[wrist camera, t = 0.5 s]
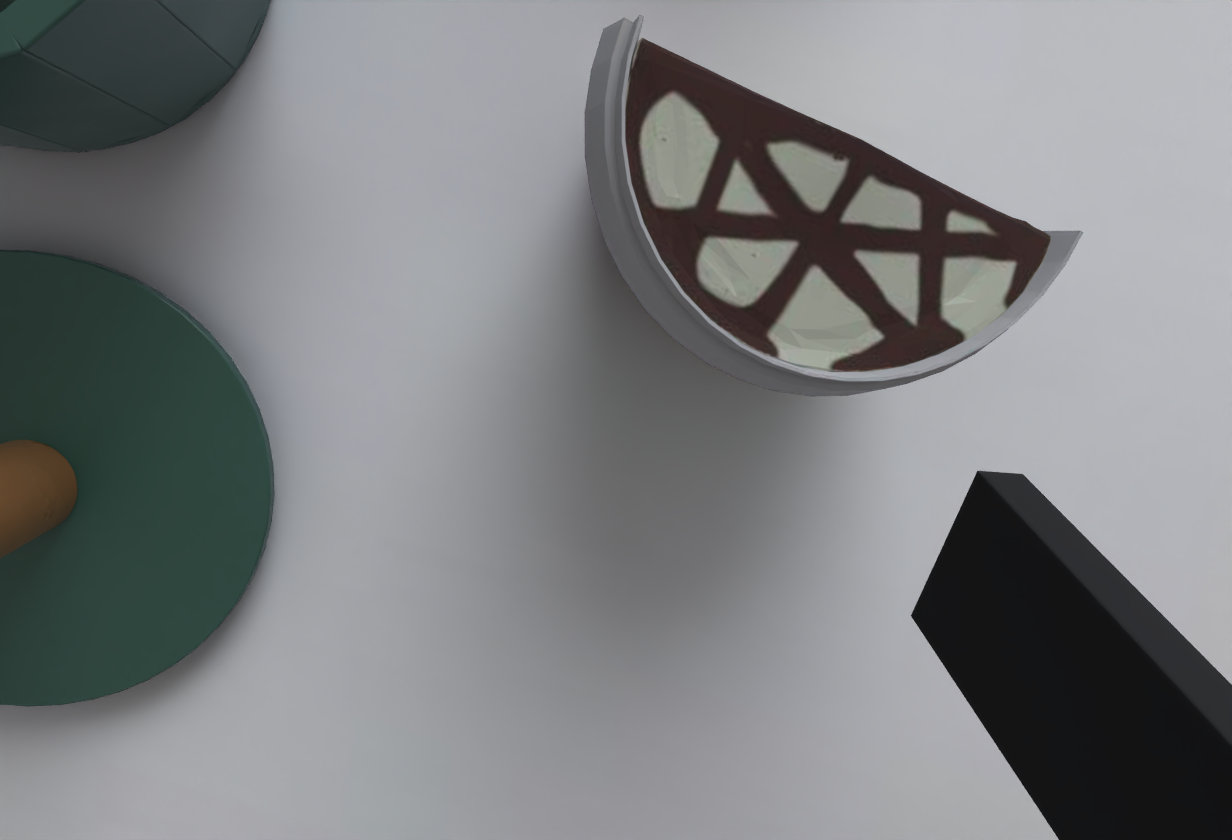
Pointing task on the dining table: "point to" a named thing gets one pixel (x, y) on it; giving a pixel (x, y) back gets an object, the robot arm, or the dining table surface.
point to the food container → (793, 233)
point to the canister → (114, 66)
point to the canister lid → (117, 481)
